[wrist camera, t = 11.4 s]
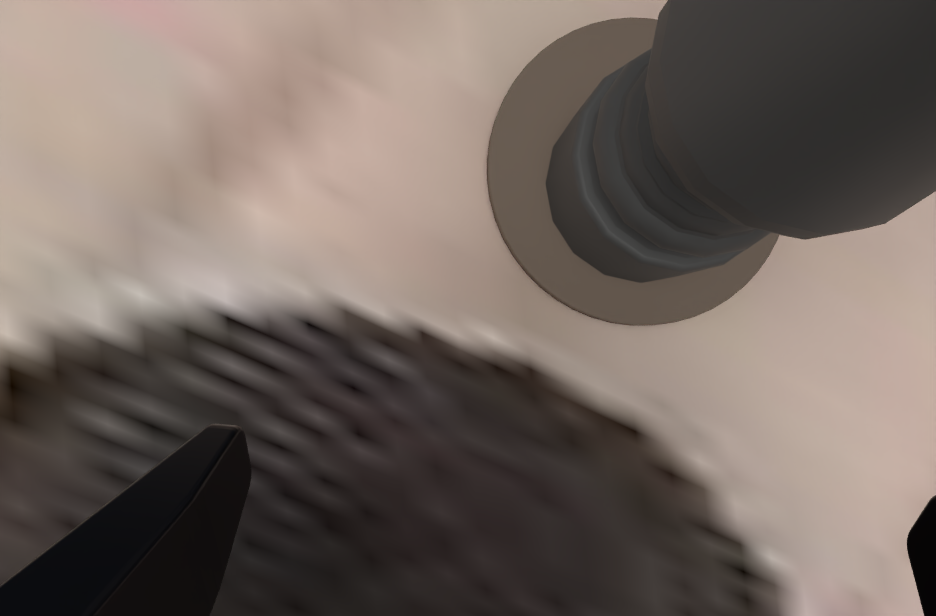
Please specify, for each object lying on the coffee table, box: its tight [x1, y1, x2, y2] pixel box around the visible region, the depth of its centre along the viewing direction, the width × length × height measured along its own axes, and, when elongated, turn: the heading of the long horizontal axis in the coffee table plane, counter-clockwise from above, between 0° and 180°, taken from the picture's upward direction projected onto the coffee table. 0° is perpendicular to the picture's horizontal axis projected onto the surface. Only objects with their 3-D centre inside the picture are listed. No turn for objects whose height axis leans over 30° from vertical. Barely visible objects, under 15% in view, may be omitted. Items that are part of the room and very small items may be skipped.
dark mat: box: [487, 18, 779, 325], centre depth 23 cm, size 10×10×1 cm
